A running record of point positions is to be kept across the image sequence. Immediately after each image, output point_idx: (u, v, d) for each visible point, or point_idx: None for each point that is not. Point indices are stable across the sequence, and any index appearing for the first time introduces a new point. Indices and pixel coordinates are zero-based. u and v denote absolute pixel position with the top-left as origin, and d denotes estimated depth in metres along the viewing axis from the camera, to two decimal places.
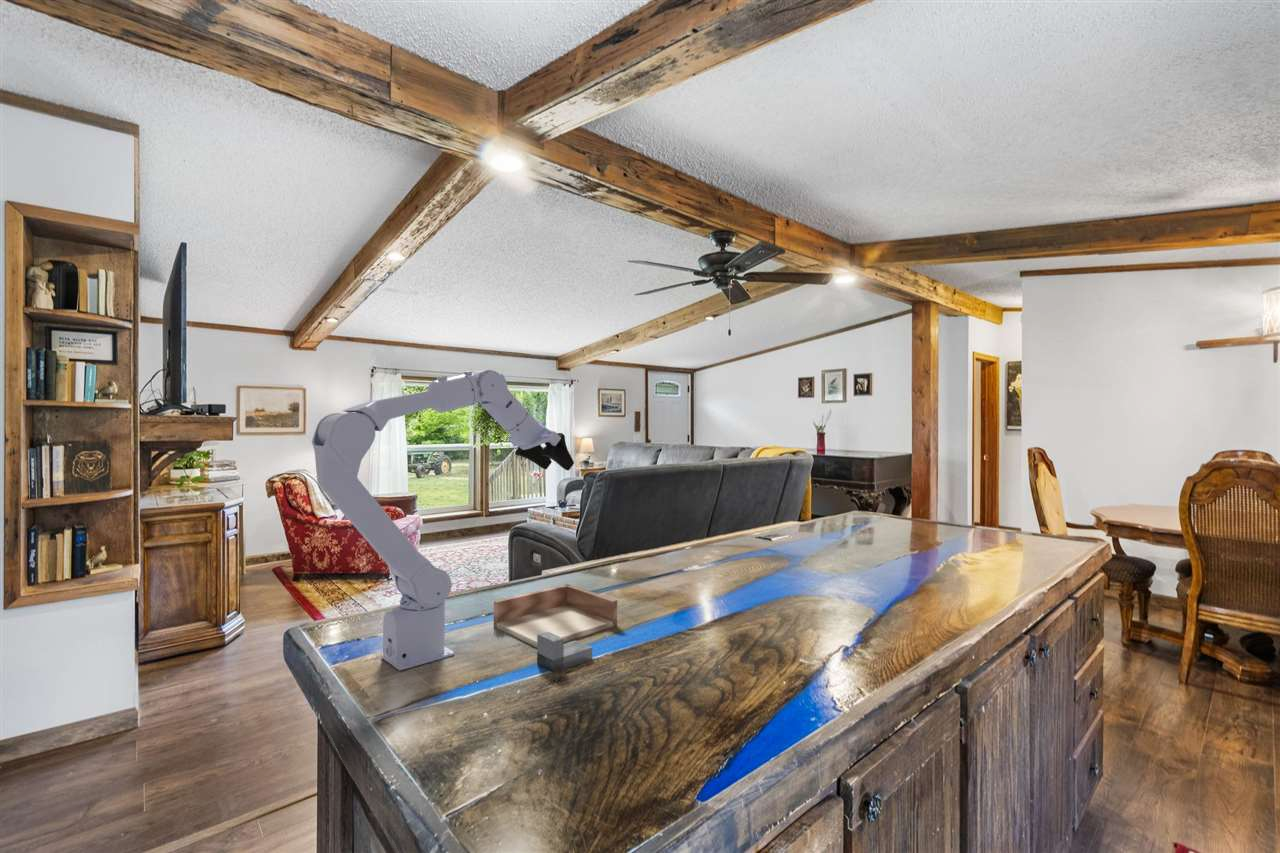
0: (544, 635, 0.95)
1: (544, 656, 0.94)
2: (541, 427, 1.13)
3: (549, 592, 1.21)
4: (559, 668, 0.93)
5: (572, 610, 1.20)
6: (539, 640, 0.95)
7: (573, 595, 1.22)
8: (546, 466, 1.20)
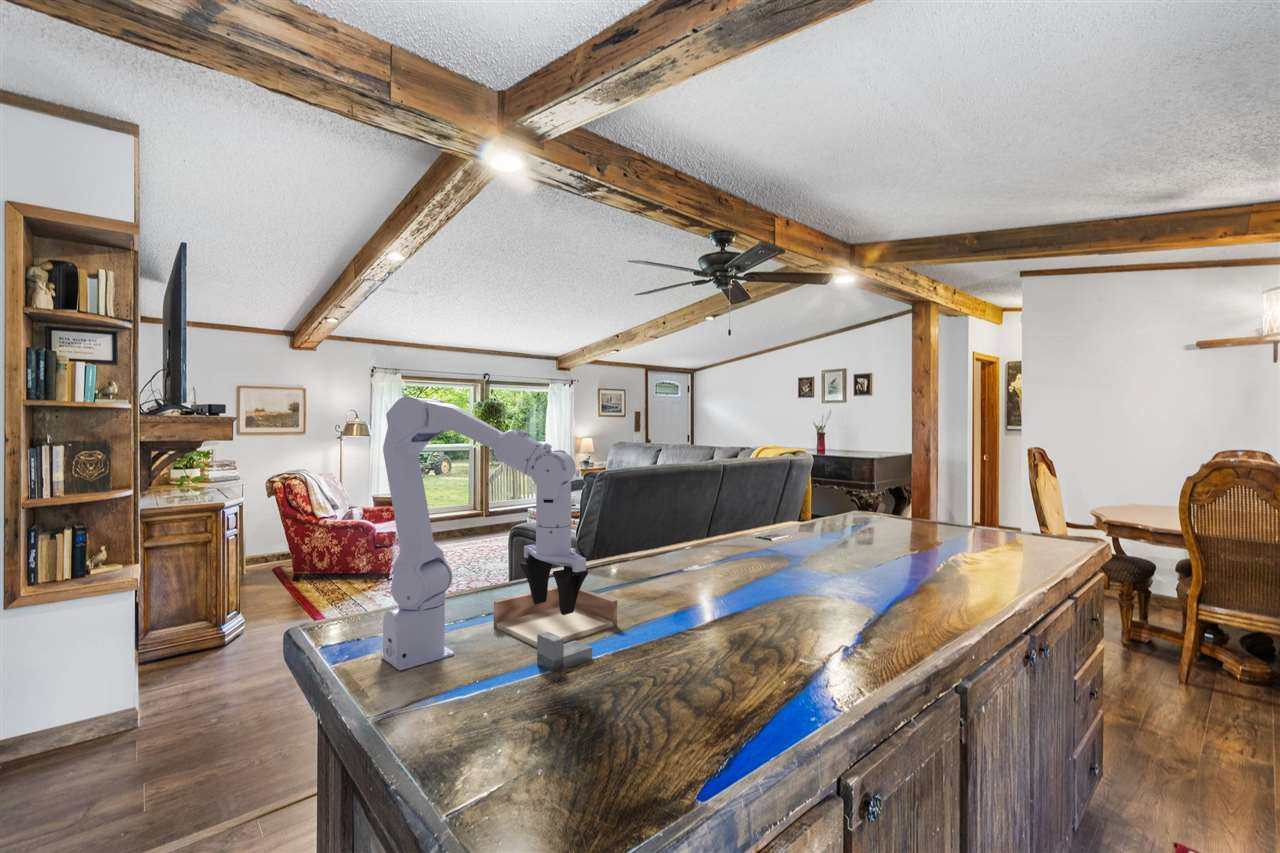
0: (544, 635, 0.95)
1: (544, 656, 0.94)
2: (570, 550, 0.95)
3: (549, 592, 1.21)
4: (559, 668, 0.93)
5: None
6: (539, 640, 0.95)
7: None
8: (538, 601, 0.97)
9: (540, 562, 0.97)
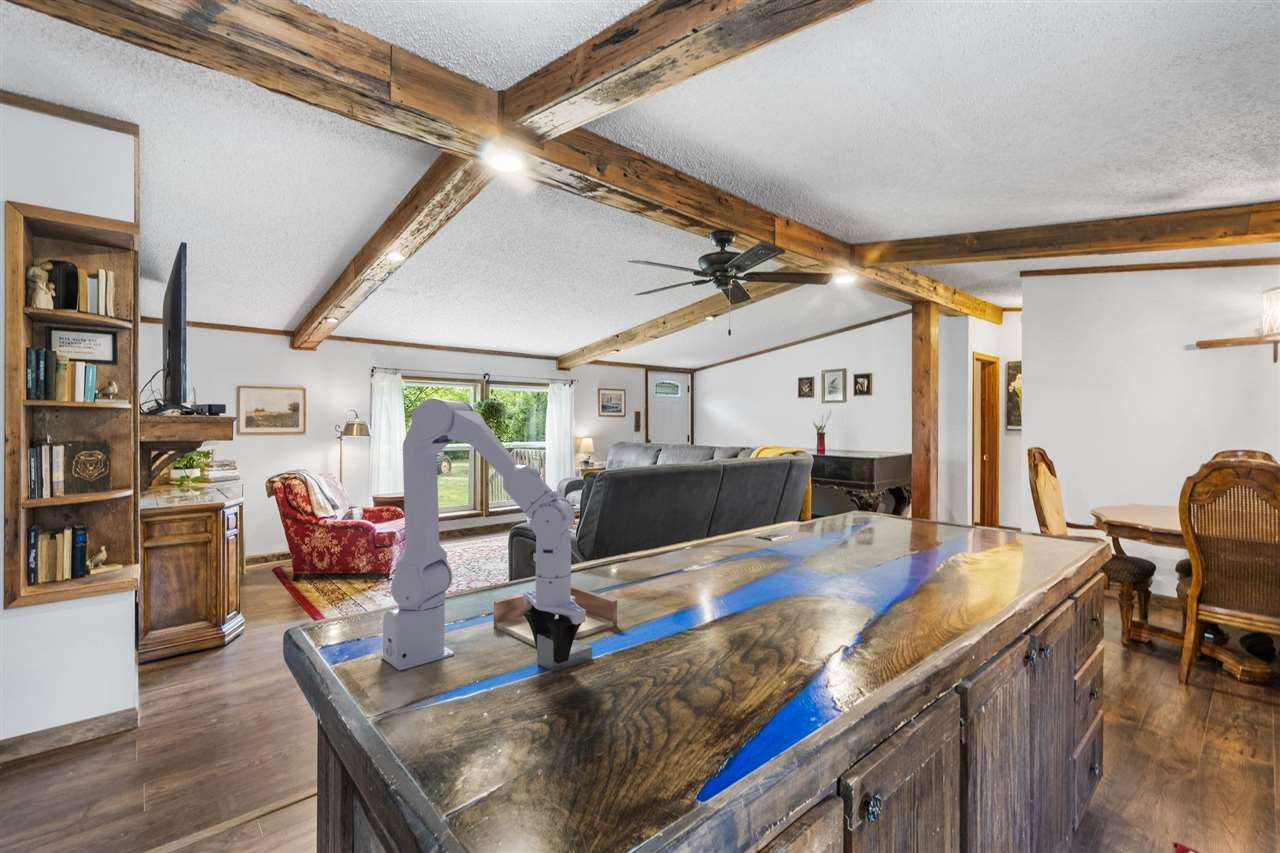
0: (544, 634, 0.95)
1: (544, 655, 0.94)
2: (570, 599, 0.95)
3: None
4: (559, 667, 0.93)
5: None
6: (539, 639, 0.95)
7: (573, 595, 1.22)
8: None
9: (544, 611, 0.97)
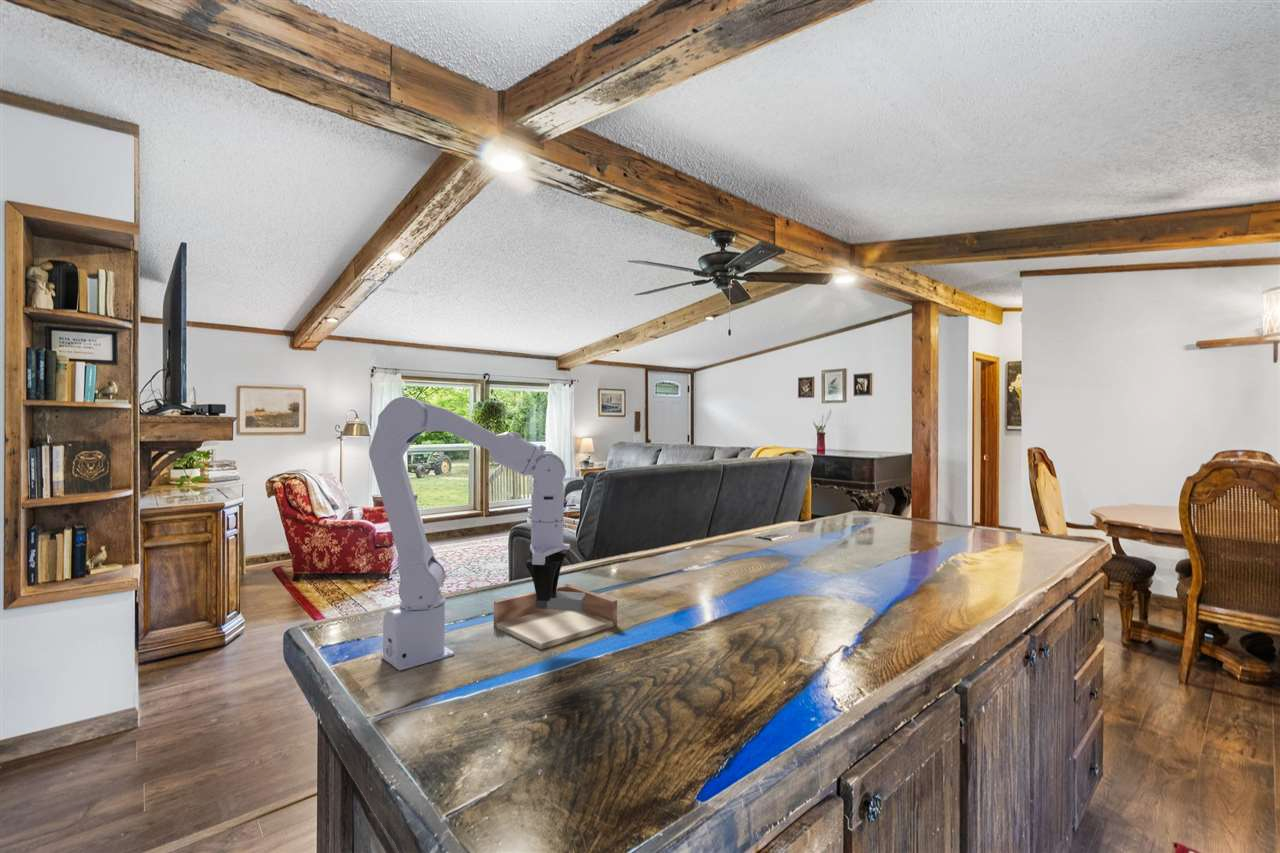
0: None
1: None
2: (555, 545, 1.01)
3: None
4: (542, 606, 1.01)
5: None
6: None
7: None
8: None
9: (550, 554, 1.06)
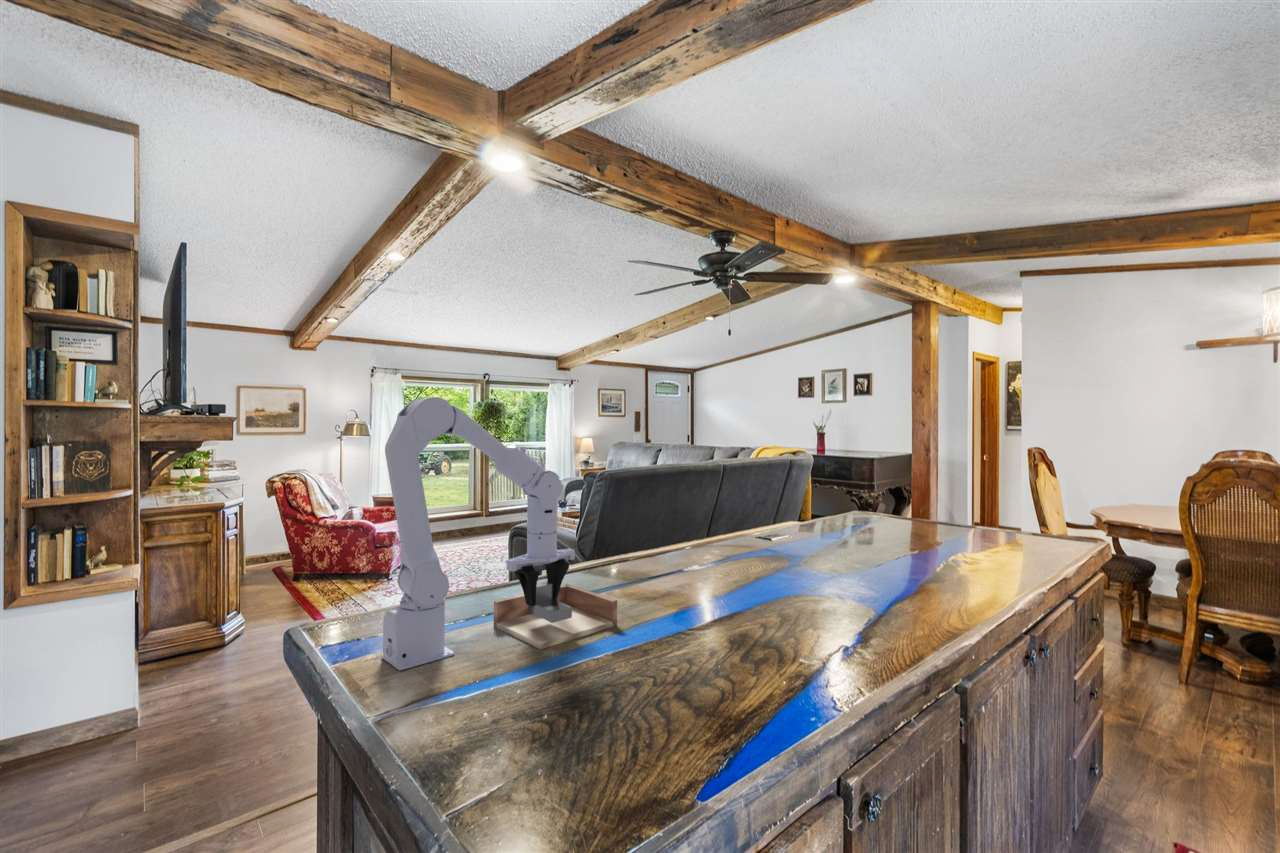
0: (544, 582, 1.13)
1: None
2: (538, 556, 1.09)
3: None
4: (531, 610, 1.10)
5: (572, 610, 1.20)
6: None
7: (573, 595, 1.22)
8: None
9: (552, 564, 1.14)
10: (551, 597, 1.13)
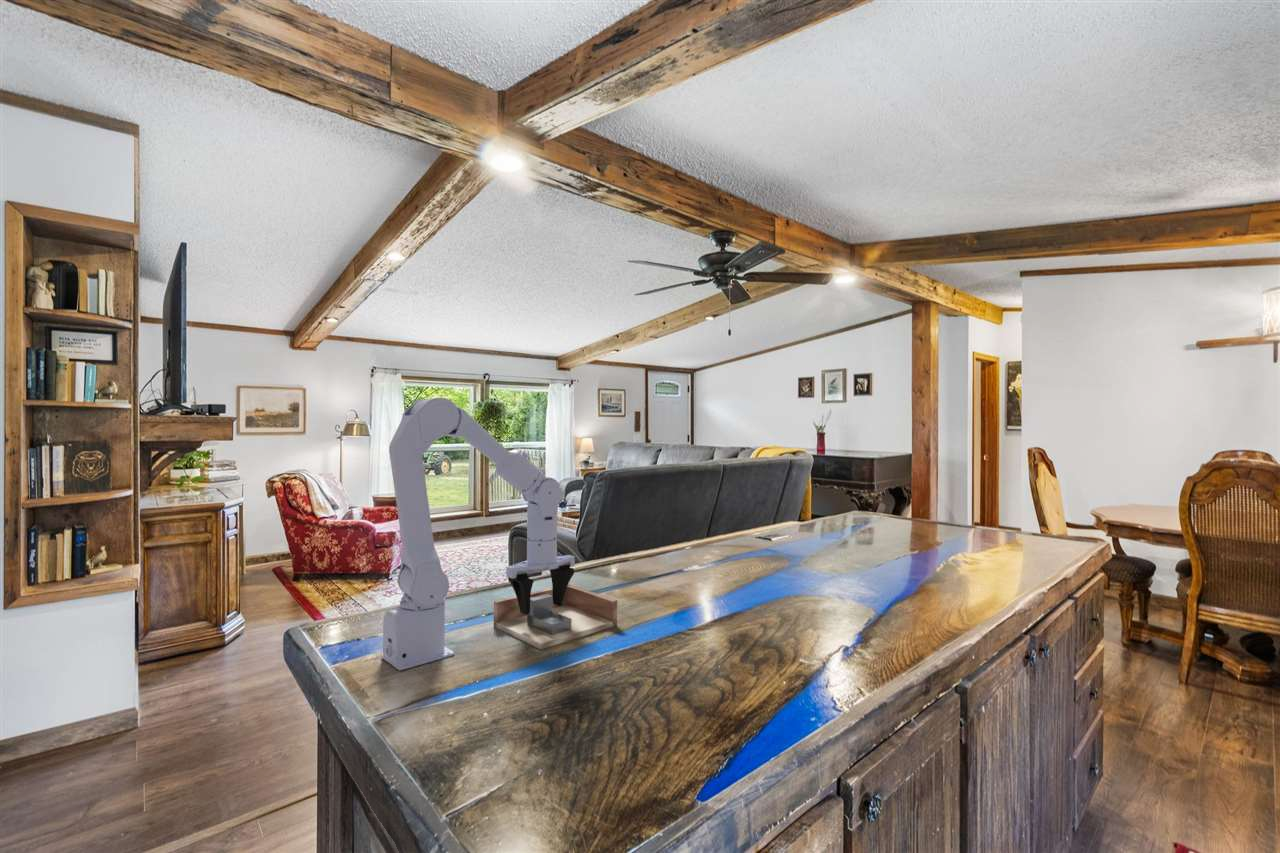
0: (543, 595, 1.13)
1: None
2: (538, 563, 1.09)
3: (549, 592, 1.21)
4: (530, 624, 1.11)
5: (572, 610, 1.20)
6: None
7: (573, 595, 1.22)
8: (554, 602, 1.15)
9: (557, 570, 1.14)
10: (550, 610, 1.13)
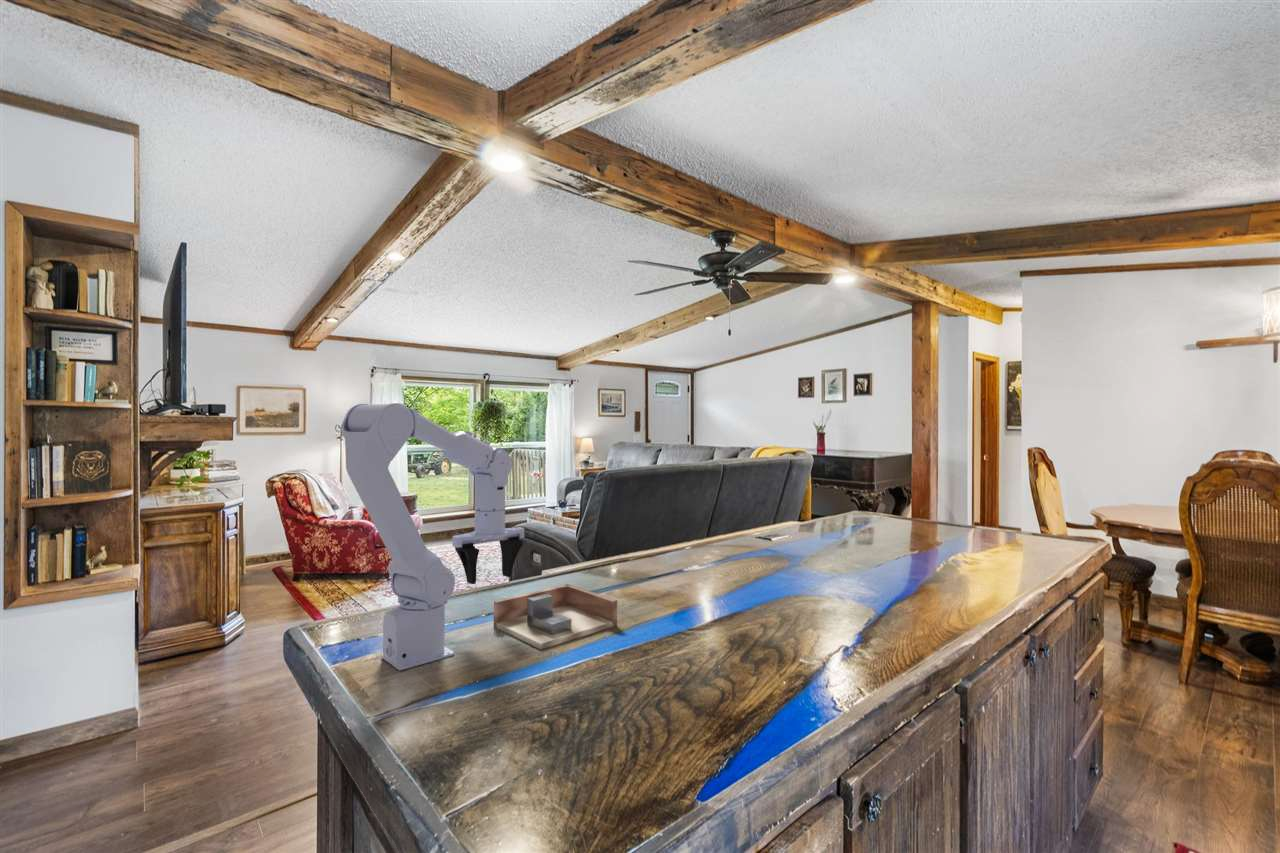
0: (543, 595, 1.13)
1: None
2: (485, 533, 1.10)
3: (549, 592, 1.21)
4: (530, 624, 1.11)
5: (572, 610, 1.20)
6: None
7: (573, 595, 1.22)
8: (503, 573, 1.15)
9: (506, 541, 1.15)
10: (550, 610, 1.13)
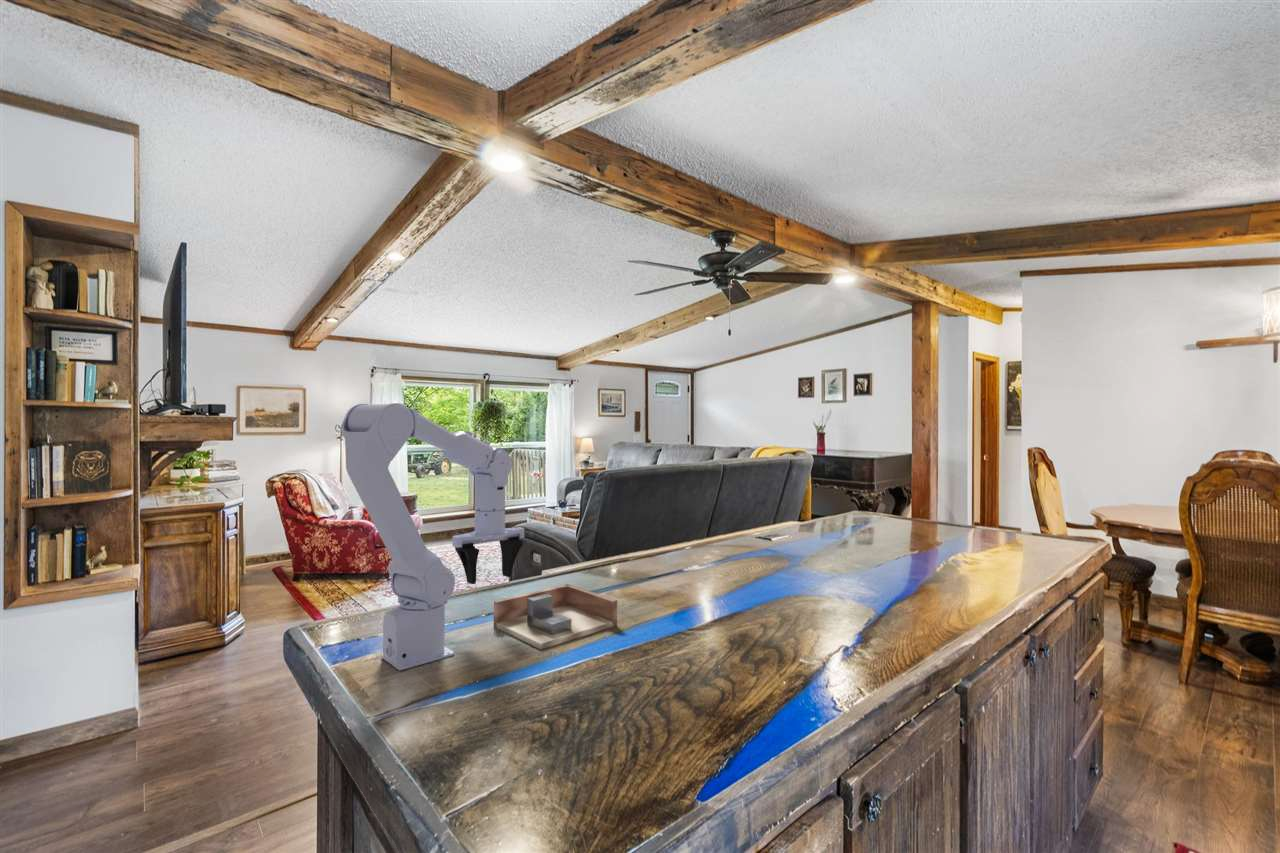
0: (543, 595, 1.13)
1: None
2: (485, 533, 1.10)
3: (549, 592, 1.21)
4: (530, 624, 1.11)
5: (572, 610, 1.20)
6: None
7: (573, 595, 1.22)
8: (503, 573, 1.15)
9: (506, 541, 1.15)
10: (550, 610, 1.13)
